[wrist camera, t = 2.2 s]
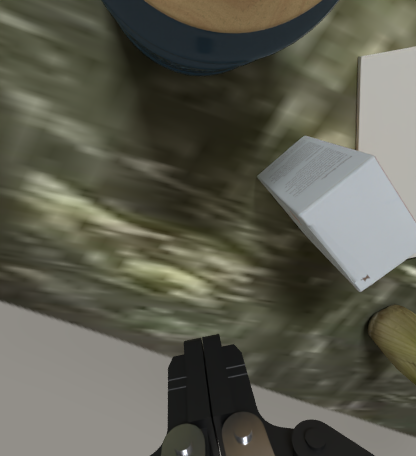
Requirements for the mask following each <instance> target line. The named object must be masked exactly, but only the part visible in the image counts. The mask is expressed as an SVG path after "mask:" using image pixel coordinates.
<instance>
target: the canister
mask: <svg viewBox="0 0 416 456" xmlns="http://www.w3.org/2000/svg"><path fill="white" fill-rule="evenodd" d="M101 1H102V2H103V4H104V5H105V7H106V8H107V9H108V11H109V12H110V13H111V15H112V16H113V17H114V18H115V20H116V21H117V23H118V25H119V26H120V28H121V29H122V30H123V32H124V33H125V35H126V36H127V37H128V38H129V39H130V41H131V42H132V43H133V44H134V45H135V46H136V47H137V48H138V49H139V50H140V51H141V52H142V53H143V54H144V55H146V56H147V57H148V58H150V59H151V60H152V61H154V62H155V63H157V64H159V65H161V66H162V67H164V68H167V69H169V70H171V71H174V72H177V73H181V74H185V75H191V76H210V75H216V74H220V73H224V72H227V71H230V70H233V69H235V68H237V67H239V66H242V65H246V64H248V63H251V62H254V61H256V60H258V59H261V58H264V57H266V56H269V55H272V54H274V53H276V52H278V51H280V50H282V49H284V48H286V47H288V46H290V45H291V44H293V43H295V42H296V41H297V40H299V39H300V38H302V37H303V36H305V35H306V34H307V33H308V32H310V31H311V30H312V29H313V28H314V27H315V26H316V25H318V24H319V23H320V22H321V21H322V20H323V19H324V18H325V17H326V16H327V14H328V13H329V12H330V11H331V10H332V9H333V8H334V6H335V5H336V4H337V3H338V1H339V0H101Z"/></svg>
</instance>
